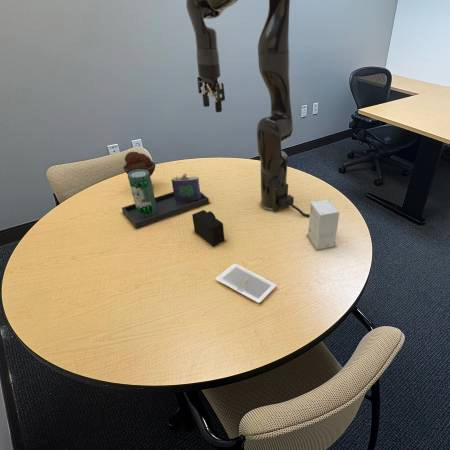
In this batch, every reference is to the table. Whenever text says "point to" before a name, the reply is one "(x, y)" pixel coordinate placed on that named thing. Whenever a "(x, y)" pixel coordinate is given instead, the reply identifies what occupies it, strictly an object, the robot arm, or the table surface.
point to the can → (143, 193)
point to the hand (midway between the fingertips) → (212, 109)
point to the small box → (323, 224)
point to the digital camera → (208, 227)
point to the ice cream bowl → (138, 162)
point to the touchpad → (246, 282)
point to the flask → (186, 189)
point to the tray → (162, 209)
